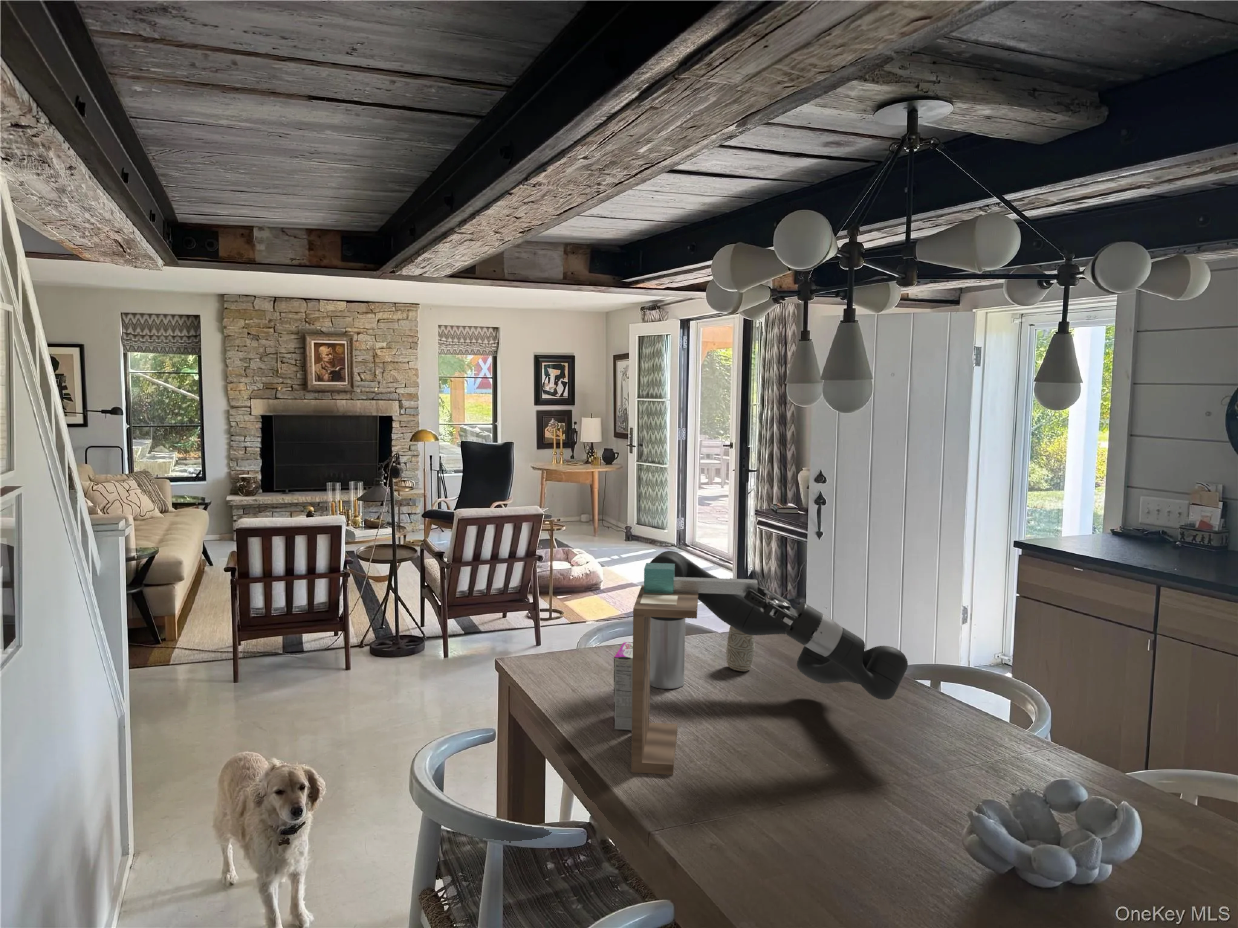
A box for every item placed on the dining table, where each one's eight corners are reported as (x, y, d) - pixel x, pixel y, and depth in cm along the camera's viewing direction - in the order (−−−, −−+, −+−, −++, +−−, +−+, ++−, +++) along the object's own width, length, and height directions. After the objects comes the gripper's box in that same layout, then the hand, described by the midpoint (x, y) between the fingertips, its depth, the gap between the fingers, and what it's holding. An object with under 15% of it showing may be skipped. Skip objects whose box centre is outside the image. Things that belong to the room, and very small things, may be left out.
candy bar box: (622, 711, 190) (623, 641, 189) (643, 713, 189) (644, 642, 188) (612, 730, 179) (612, 655, 178) (634, 732, 178) (635, 657, 177)
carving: (750, 674, 216) (751, 629, 216) (722, 670, 220) (723, 625, 219) (757, 667, 222) (758, 623, 221) (730, 663, 225) (731, 620, 224)
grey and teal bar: (646, 586, 175) (646, 562, 175) (756, 589, 173) (756, 566, 172) (643, 592, 169) (644, 568, 169) (757, 596, 167) (758, 572, 166)
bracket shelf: (640, 730, 179) (641, 583, 176) (695, 733, 177) (698, 585, 175) (631, 772, 159) (633, 607, 156) (694, 775, 158) (697, 609, 155)
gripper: (819, 606, 176) (753, 566, 177) (828, 623, 162) (756, 580, 162) (800, 635, 177) (734, 595, 177) (808, 655, 162) (736, 612, 163)
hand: (745, 588), depth 170 cm, fingers open, 8 cm apart
